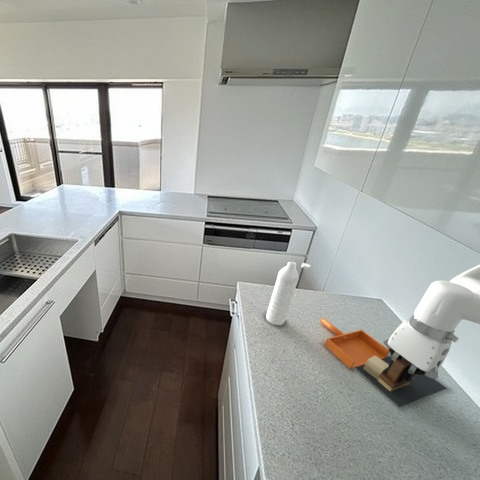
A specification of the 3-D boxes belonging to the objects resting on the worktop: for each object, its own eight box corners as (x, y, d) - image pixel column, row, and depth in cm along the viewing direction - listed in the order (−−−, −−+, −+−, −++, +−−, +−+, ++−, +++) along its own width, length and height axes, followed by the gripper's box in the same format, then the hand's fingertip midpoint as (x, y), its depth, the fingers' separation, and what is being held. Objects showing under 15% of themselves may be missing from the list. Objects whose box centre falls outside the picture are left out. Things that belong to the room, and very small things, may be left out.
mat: (398, 354, 84) (399, 353, 84) (446, 388, 74) (446, 388, 74) (354, 367, 79) (354, 367, 79) (399, 407, 68) (399, 406, 68)
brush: (395, 373, 77) (409, 352, 73) (409, 384, 74) (424, 363, 70) (376, 380, 75) (388, 358, 71) (390, 392, 71) (404, 370, 68)
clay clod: (369, 364, 80) (375, 355, 78) (384, 374, 77) (390, 365, 75) (362, 368, 78) (367, 359, 76) (377, 379, 75) (383, 370, 73)
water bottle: (266, 323, 94) (283, 265, 84) (265, 312, 100) (280, 256, 90) (291, 329, 92) (312, 270, 82) (288, 317, 98) (308, 261, 88)
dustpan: (385, 358, 83) (390, 350, 81) (350, 369, 78) (354, 361, 77) (335, 319, 98) (338, 312, 97) (303, 326, 94) (305, 319, 93)
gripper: (481, 347, 59) (440, 398, 67) (404, 304, 73) (377, 350, 81) (461, 354, 57) (422, 406, 65) (386, 308, 71) (360, 355, 79)
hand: (397, 374), depth 73 cm, fingers closed on brush, 2 cm apart
